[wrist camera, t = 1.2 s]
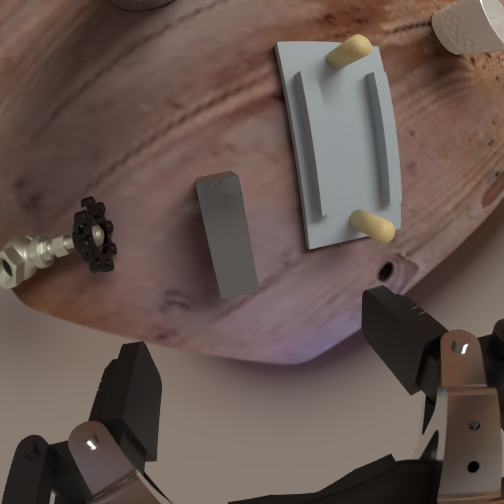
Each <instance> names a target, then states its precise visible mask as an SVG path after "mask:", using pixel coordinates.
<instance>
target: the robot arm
mask: <svg viewBox="0 0 504 504" xmlns="http://www.w3.org/2000/svg"><path fill="white" fill-rule="evenodd" d="M110 1H111V3H112V4H114V5H115V6H117V7H119V8H122V9H125V10H133V11H136V10H147V9H153V8H156V7H159V6H163V5H165V4H167V3H169V2H171V1H173V0H110ZM362 332H363V334H364V337H365V339H366V341H367V342H368V343H369V344H370V345H371V347H372V348H373V349H374V350H375V352H376V353H377V354H378V355H379V357H380V358H381V359H382V360H383V361H384V363H385V364H386V365H387V366H388V368H389V369H390V370H391V371H392V372H393V374H394V375H395V376H396V378H397V379H398V380H399V381H400V383H401V384H402V385H403V386H404V388H405V389H406V390H407V392H408V393H409V394H410V395H413V394H415V393H417V392H419V391H421V390H422V391H423V392H424V393H425V394H424V398H423V404H422V414H421V422H420V430H419V438H418V442H417V446H416V449H415V452H414V455H413V458H412V459H409V460H400V461H395V460H394V458H393V456H392V455H391V454H389V455H387V456H385V457H383V458H381V459H378V460H377V461H374V462H372V463H369V464H367V465H364V466H362V467H360V468H357V469H355V470H353V471H352V472H350V473H349V474H347V475H346V476H344V477H342V478H341V479H339V480H338V481H336V482H334V483H333V484H331V485H329V486H327V487H326V488H324V489H322V490H321V491H318V492H316V493H306V494H289V495H268V496H262V497H257V498H252V499H246V500H240V501H234V502H228V504H504V477H501V475H502V473H501V472H502V439H501V428H502V429H503V431H504V319H501V320H499V321H497V323H496V324H495V326H494V329H493V332H492V334H491V335H487V336H483V337H479V338H476V337H475V336H474V335H473V334H472V333H470V332H468V331H464V330H452V331H448V330H447V329H446V328H445V327H443V326H442V325H441V324H440V323H439V322H438V321H436V320H435V319H434V318H433V317H431V316H430V315H429V314H428V313H425V311H424V310H423V309H422V308H420V307H418V305H416V304H415V303H414V302H413V301H411V300H410V299H409V298H407V297H404V296H402V295H399V294H394V293H393V292H391V291H390V290H389V289H388V288H386V287H385V286H383V285H381V286H378V287H375V288H371V289H368V290H365V291H364V292H363V295H362ZM101 381H102V382H100V385H99V388H98V389H99V391H97V394H96V397H95V400H94V404H93V407H92V410H91V414H90V417H89V420H88V422H84V423H82V424H80V425H78V426H77V427H76V428H75V429H74V430H73V431H72V432H71V434H70V436H69V439H68V441H64V442H60V443H56V444H51V445H49V444H48V443H47V442H46V441H45V440H44V439H43V438H42V437H41V436H39V435H31V436H28V437H26V438H24V439H23V440H22V441H21V442H20V443H19V444H18V446H17V449H16V451H15V455H14V458H13V461H12V464H11V468H10V471H9V475H8V479H7V483H6V487H5V491H4V495H3V499H2V504H49V502H50V495H51V491H52V492H53V493H55V494H56V495H55V503H54V504H174V503H173V502H172V501H171V500H170V499H169V498H168V497H167V496H166V494H165V493H164V492H163V491H162V490H161V489H160V488H159V487H158V486H157V484H156V483H155V482H154V481H153V480H152V479H151V477H150V476H149V475H148V474H147V473H146V472H145V471H144V467H145V462H149V461H157V444H158V429H159V415H160V404H161V394H162V382H161V378H160V374H159V372H158V370H157V368H156V366H155V364H154V362H153V359H152V358H151V355H150V353H149V351H148V349H147V346H146V344H145V343H144V342H143V341H141V342H135V343H128V344H123V345H122V347H121V350H120V353H119V356H118V359H114V360H112V361H111V362H110V364H109V365H108V366H107V367H106V369H105V370H104V373H103V376H102V379H101Z"/></svg>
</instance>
